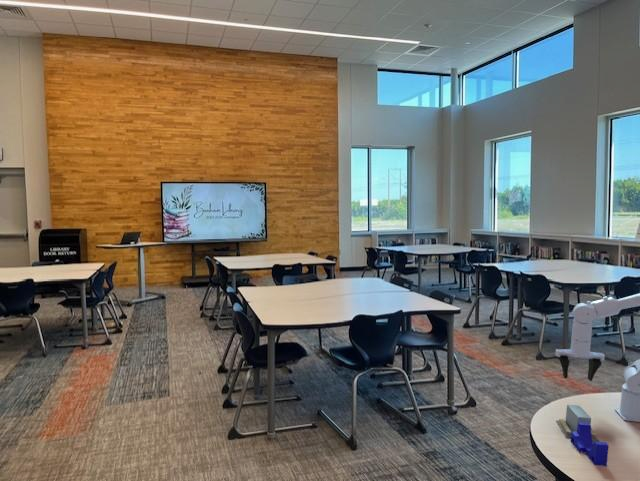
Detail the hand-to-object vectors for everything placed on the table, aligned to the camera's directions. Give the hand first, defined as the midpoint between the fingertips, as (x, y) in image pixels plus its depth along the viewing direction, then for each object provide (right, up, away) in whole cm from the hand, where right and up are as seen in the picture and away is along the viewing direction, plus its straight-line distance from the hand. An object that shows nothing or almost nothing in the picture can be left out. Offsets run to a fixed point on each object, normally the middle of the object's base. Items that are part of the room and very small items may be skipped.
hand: (577, 378), depth 159 cm
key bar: (-9, -11, -16) cm, 22 cm away
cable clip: (-12, -13, -28) cm, 33 cm away
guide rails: (-9, -11, -16) cm, 22 cm away
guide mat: (-9, -11, -16) cm, 22 cm away
